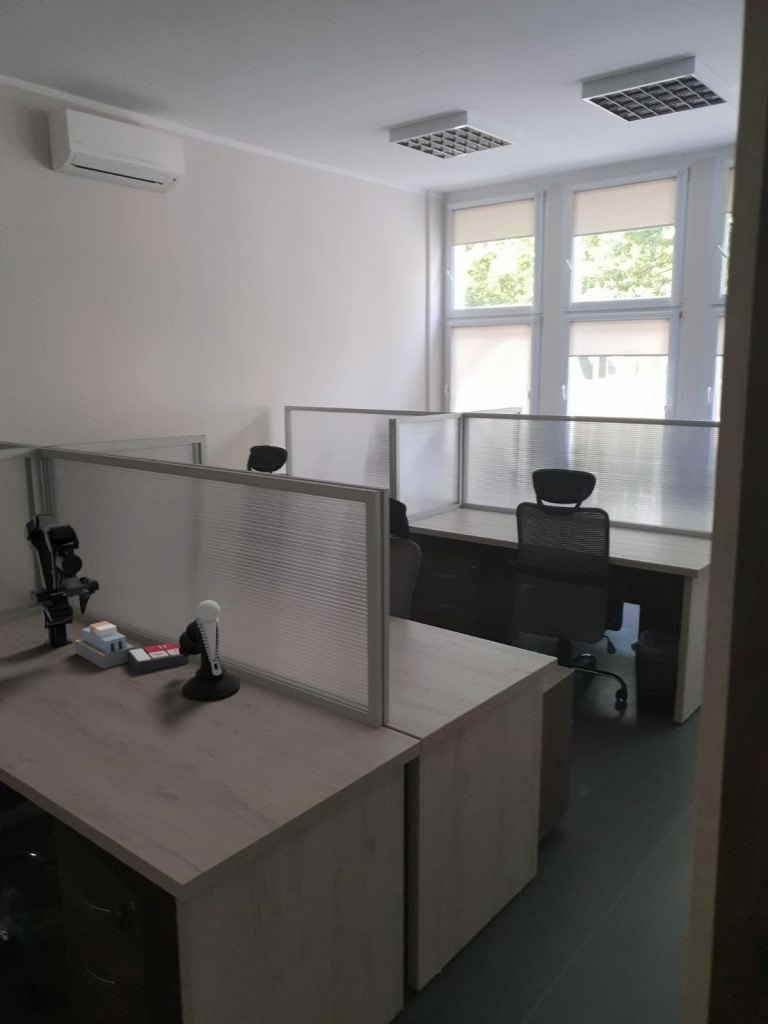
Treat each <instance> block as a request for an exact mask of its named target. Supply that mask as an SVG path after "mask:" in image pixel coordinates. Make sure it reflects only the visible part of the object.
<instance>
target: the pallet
mask: <svg viewBox="0 0 768 1024" xmlns="http://www.w3.org/2000/svg"><path fill="white" fill-rule="evenodd" d="M81 632H82V633H81V634H82V639H83V640H84V641H86V642H88V643H90V644H91V645H93V646H95V647H97V648H99V649H101V650H103V651H104V652H106V653H109V652H111V649H113V650H114V651H116V650H119V647H121V648H122V649H124V648H127V646H126V643H127V636H126V635H124V634H122V633H120V632H118V631H117V634H113V635H109V636H105V637H102V638H101V637H99V636H97V635H95V634H93V633H91V632H90V626H89V627H84V628H82V629H81Z"/></svg>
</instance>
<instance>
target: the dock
mask: <svg viewBox="0 0 768 1024" xmlns="http://www.w3.org/2000/svg"><path fill="white" fill-rule="evenodd" d="M74 642H75V651H76V655H79V656H81V657H82V658H84V659H86V660H87V661H89V662H90V663H92V664H95V665H96V666H98V667H99V668H101V669H103V670H104V669H108V668H111V667H114V666H118V665H121V664H126V663H128V651H130V650H134V649H136V646H135V645H132V644H131V643H128V642H126V646H127V648H124V649H122V648H121V647H119V650H116V651H114V650H113V649H111V652H109V653H106V652H104V651H103V650H101V649H99V648H97V647H95V646H93V645H91V644H90V643H88V642H86V641H84V640H83V638H81V639H76V640H75V641H74Z"/></svg>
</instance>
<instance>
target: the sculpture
mask: <svg viewBox="0 0 768 1024" xmlns="http://www.w3.org/2000/svg"><path fill="white" fill-rule="evenodd" d="M195 612H196V616H197V617H196V618H195V620H194V621H192V622H190V623H188V625H187V626H186V628H185V631H183V632H182V633H181V634H180V636H179V639H178V643H179V644H178V645H179V646H180V648H179V653H180V655H184V656H185V657H187V656H189V657H190V656H197V655H200V667H199V668H198V669H197V670H196V671H195V675H193V676H192V677H190V678H189V679H188V680H187V681H186V682H185V683H184V684H183V686H182V688H181V689H182V691H181V692H182V695H183V696H184V697H185V698H186V699H189V700H192V701H196V702H212V701H218V700H219V701H220V700H223V699H226V698H229V697H231V696H233V695H235V694H237V693H238V692H239V691H240V689H241V681H240V680H239V678H237V677H236V676H235V675H233V674H232V673H229V672H226V671H227V669H226V668H225V667H223V666H221V663H220V646H221V645H220V644H221V634H220V633H221V631H220V629H221V627H220V624H219V622H220V621H219V619H220V618H218V617H219V615H221V607H220V606H219V603H217V602H216V601H215V600H212V599H210V600H209V599H206V600H203V601H201V602H199V604H198V605H197V606H196V609H195Z"/></svg>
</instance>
